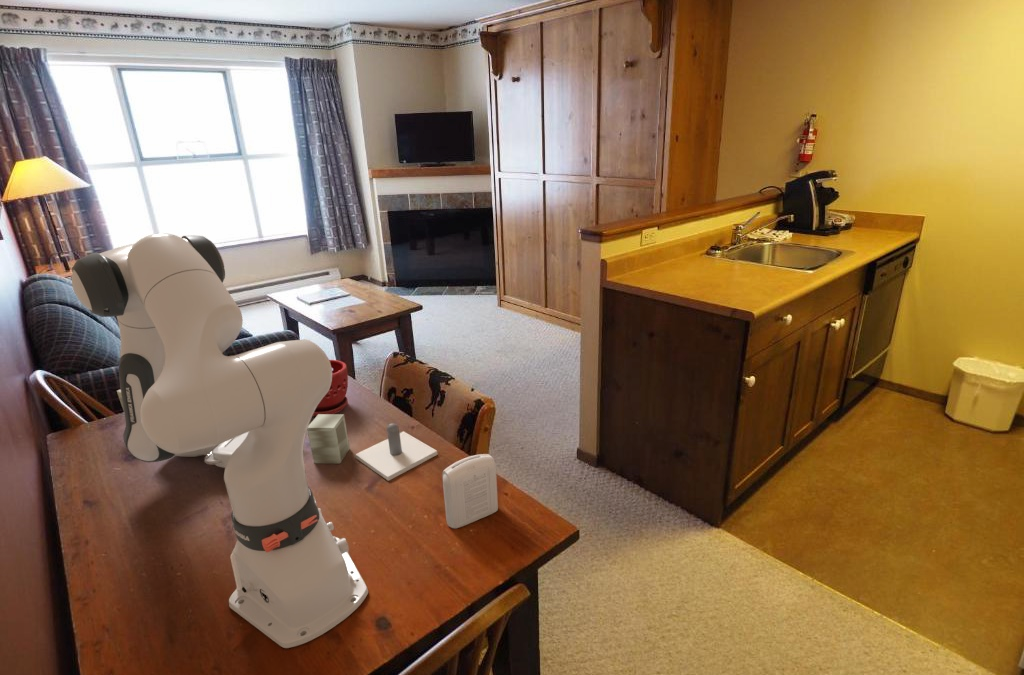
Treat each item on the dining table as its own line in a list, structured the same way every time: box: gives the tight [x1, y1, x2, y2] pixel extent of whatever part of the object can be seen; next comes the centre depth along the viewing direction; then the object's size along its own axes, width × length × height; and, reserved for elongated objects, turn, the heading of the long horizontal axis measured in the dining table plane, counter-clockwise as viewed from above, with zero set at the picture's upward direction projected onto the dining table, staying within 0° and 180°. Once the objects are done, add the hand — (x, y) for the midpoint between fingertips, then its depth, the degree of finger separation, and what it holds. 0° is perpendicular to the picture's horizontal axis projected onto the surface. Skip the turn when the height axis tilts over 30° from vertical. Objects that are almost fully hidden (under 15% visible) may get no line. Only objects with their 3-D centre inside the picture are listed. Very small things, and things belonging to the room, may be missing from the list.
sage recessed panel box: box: [307, 413, 351, 464], centre depth 121 cm, size 6×6×9 cm
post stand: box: [354, 422, 438, 482], centre depth 120 cm, size 13×13×8 cm
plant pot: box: [312, 359, 349, 417], centre depth 143 cm, size 13×13×12 cm
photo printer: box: [441, 453, 499, 529], centre depth 99 cm, size 10×4×12 cm, turn 122°
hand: (285, 437), depth 122 cm, fingers open, 8 cm apart
